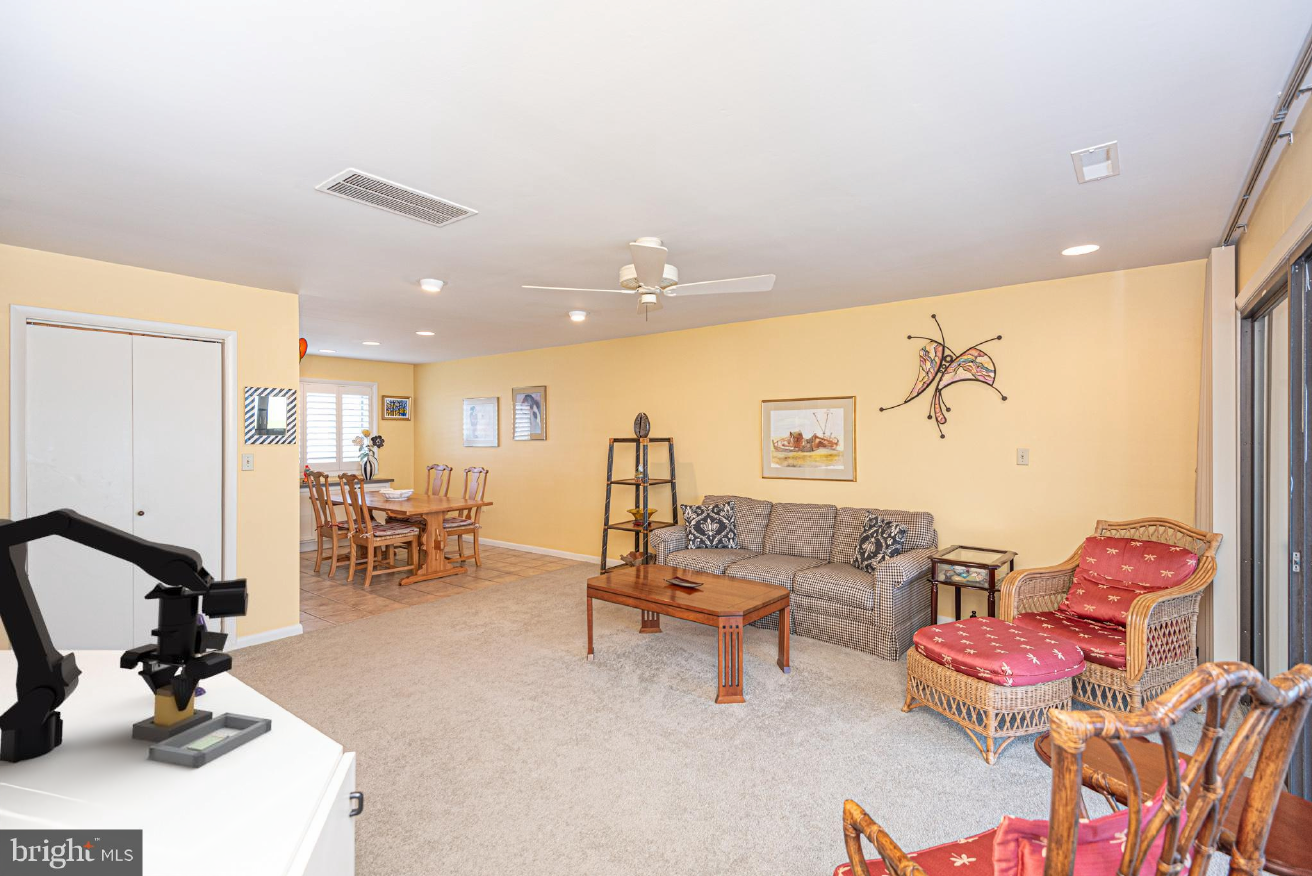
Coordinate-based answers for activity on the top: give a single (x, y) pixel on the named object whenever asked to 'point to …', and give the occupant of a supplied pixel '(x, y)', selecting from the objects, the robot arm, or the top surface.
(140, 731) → the fuse holder
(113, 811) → the top surface
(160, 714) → the block
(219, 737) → the block
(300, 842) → the top surface
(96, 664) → the top surface
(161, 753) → the parts tray
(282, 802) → the top surface
